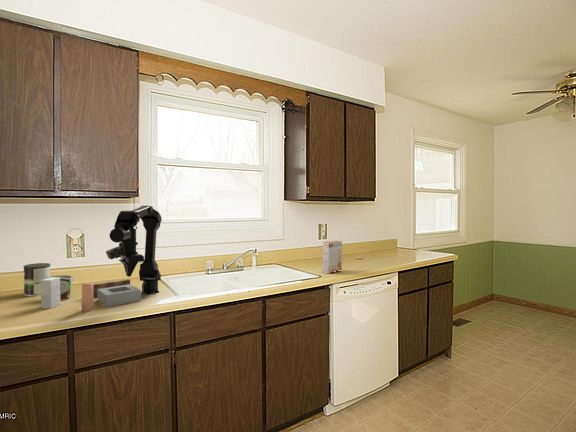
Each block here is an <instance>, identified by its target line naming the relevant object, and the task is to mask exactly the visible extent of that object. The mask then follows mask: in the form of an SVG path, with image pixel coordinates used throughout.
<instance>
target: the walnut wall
mask: <svg viewBox="0 0 576 432" xmlns="http://www.w3.org/2000/svg"><path fill="white" fill-rule="evenodd" d="M129 284H130V285H131V279H122V280H112V281H108V282H100V283H93V299H94V298H97V289H102V288H109V287H116V286H122V285H129Z"/></svg>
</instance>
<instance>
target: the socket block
mask: <svg viewBox="0 0 576 432" xmlns="http://www.w3.org/2000/svg"><path fill="white" fill-rule="evenodd" d="M141 294H142V289H140V288H138V287H136V286H134V285H132V284H131V283H130V284H129V285H122V286H116V287H109V288H102V289H97V297H96V298H97V301H98V303H99V302H100V304H102V305H103V304H104V305H103V306H105V307H106V308H109V306H110V307H114V305H115V306H119V305H124V304H130V303H135V302H141V297H142V296H141Z"/></svg>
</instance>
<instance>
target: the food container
mask: <svg viewBox="0 0 576 432" xmlns="http://www.w3.org/2000/svg"><path fill="white" fill-rule="evenodd" d="M50 277H60V301H61V300H62V301H63V300H65V301H66V300H67V301H68V300H69V299H70V298H71V288H72V282H73V281H74V279H73V277H72V275H68V274H67V275H66V274H65V275H62V274H61V275H59V274H58V275H52V276H51V275H50ZM50 277H45V278H44V279H47V278H50Z"/></svg>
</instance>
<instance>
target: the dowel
mask: <svg viewBox="0 0 576 432" xmlns="http://www.w3.org/2000/svg"><path fill="white" fill-rule="evenodd" d="M93 284H94V282H83V283H81V312H84V313H87V312H89V313H90V312H92V311H94V298H93Z"/></svg>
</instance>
